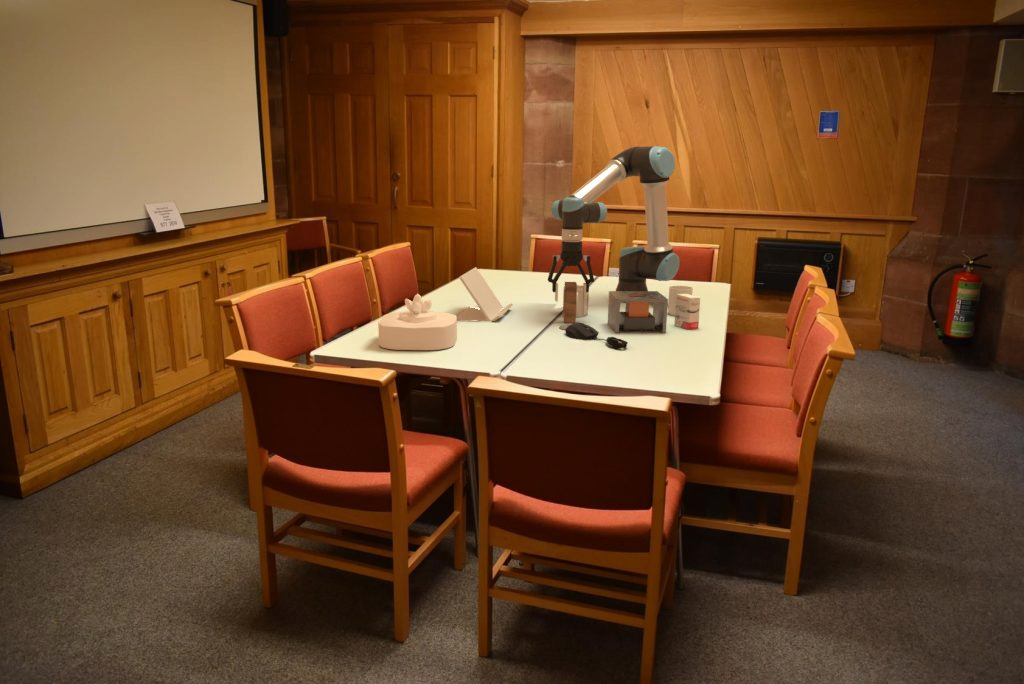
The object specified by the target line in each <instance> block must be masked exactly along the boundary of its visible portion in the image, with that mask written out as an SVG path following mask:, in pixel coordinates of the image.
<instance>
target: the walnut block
mask: <svg viewBox="0 0 1024 684" xmlns="http://www.w3.org/2000/svg"><path fill="white" fill-rule="evenodd" d="M577 285H578V283H577V282H576V281H564V286H565V291H564V290H563V292H564V315H563V323H564V325H571V324H573V323H577V317H576V296H577Z"/></svg>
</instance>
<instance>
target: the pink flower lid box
mask: <svg viewBox="0 0 1024 684" xmlns="http://www.w3.org/2000/svg"><path fill="white" fill-rule="evenodd" d="M404 303H405V306H406V308H407V310H405V311H398V312H397V311H396V312H391V313H388V314H384V315H383V316H382V317H381V318H380V320H378V323H377V325H378V345H379V347H381V348H383V349H389V350H396V351H398V350H399V351H438V350H445V349H449V348H451V347H454V346H455V344H456V341H457V339H458V330H457V329H458V320H457V316H458V315H456V314H452V313H448V312H442V311H432V310H431V307H432V305H433V304H432V300H431V299H426V300H423V299H422V296H421V295H420V294H419V293H416V294H415V295H414V297H413V300H410V299H408V298H405V299H404Z"/></svg>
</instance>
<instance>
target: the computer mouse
mask: <svg viewBox="0 0 1024 684" xmlns="http://www.w3.org/2000/svg"><path fill="white" fill-rule="evenodd" d="M568 325H569V326H568V327H567V328H566V329H565V330H564V331H565V334H566V337H568V338H572V339H575V340H582V341H587V340H594V341H605V342H606V343H607V345H609V346H611V347H612V348H615V349H625V348H627V345H628V343H629V342H628V341H627V340H624V339H620V338H618V337H615V336H608V337H607V338H606V339H604V338H598V336H599V334H600V332H599V331H598V330H596V328H594V327H593V326H591V325H588V324H587V323H584V322H576V323H573V324H568Z"/></svg>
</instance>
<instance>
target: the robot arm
mask: <svg viewBox="0 0 1024 684" xmlns="http://www.w3.org/2000/svg"><path fill="white" fill-rule="evenodd" d="M675 168H676V161H675V155H674V154H673V152H672V151H671V150H670V148H667V147H664V146H658V145H653V146H652V145H651V146H632V147H629V148H627V149H625V150H623V151H621V152H619V153H618V154H617V155H614V156H613V157H612V158H611V159H609V160H608V161H607V163H606V165H605V166H604V168H603V169H601V170H600V171H599V172H598V173H596V174H595V175H594V176H592V178H590V179H589V180H588V181H586V182H585V183H584V184H583V185H581V186H580V187H579V188H578V189H577V190H575V191H574V192H573V193H571V194H570V195H569V196H568V197H565V198H563V199H558V200H555V201H554V202H553V203H552V206H551V210H550V211H551V215H552V218H554V219H555V220H558V221H559V220H560V221H561V222H562V223H561V225H562V226H561V240H562V241H561V248H560V249H561V252H560V254H559V255H558V254H557V255H555V254H553V255H552V264H551V267H550V270H549V273H548V276H547V277H548V278H547V281H548V283H551V284H552V288H551V290H552V292H553V293H554V302H556V303H557V302H558V301H559V283H558V280H559V279H560V277H561V275H562V274H563V272H564V271H565V269H566V267H577V269H578V271H579V273H580V274H581V276H582V278H583V280H584V282H583V283H582V286H583V301H584V302H586V292H589V293H590V284H591V283H594V282H595V278H594V274H593V269H592V265H591V256H590V254H587V255H584V254H583V242H582V240H583V228H584V224H593V223H594V224H597V223H598V224H599V223H602V222H604V221H605V220H606V218H607V216H608V208H607V206H606V205H605V204H604V203H603V202H601V201H600V202H599V201H596V200H597V199H599V197H601V196H602V195H604V193H606V192H607V191H609V189H611V188H612V187H613V186H614V185H616V184H617V183H618V182H623V181H624V180H625V179H628V178H629V177H630V178H631V177H639V183H640V185H642V186H643V192H644V193H643V194H644V208H645V209H644V210H645V225H646V228H645V229H646V243H647V244H646V245H643V246H642V245H641V246H640V245H639V246H628V247H623V248H621V249H620V251H619V257H618V263H619V264H618V283H617V284H616V288H615V291H649V290H648V289H649V288H648V286H647V279H649V280H653V281H659V282H661V281H662V282H668V281H671V280H672V279H674V278H675V277H676V275H677V274H678V271H679V268H680V257H679V256H678V254H677V253H676V252H675V253H674V247H673V246H672V245H671V244H670V243H669V242H670V241H669V224H668V223H669V222H668V219H669V218H668V203H667V200H668V199H667V184H668V182H669V181H670V177H671V176H673V173H674V170H675ZM559 260H560V261H562V263H561V264H560V267H559V268H558V270H557V272H556V273H555V270H556V266H557V262H559ZM582 260H584V262H585V264H586V269H587V272H588V276H587V275H586V273H585V270H584V268H583V266H582V265H581V262H582ZM554 274H555V275H554ZM588 277H589V279H588ZM630 297H646V296H630ZM622 304H626V302H622Z"/></svg>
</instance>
